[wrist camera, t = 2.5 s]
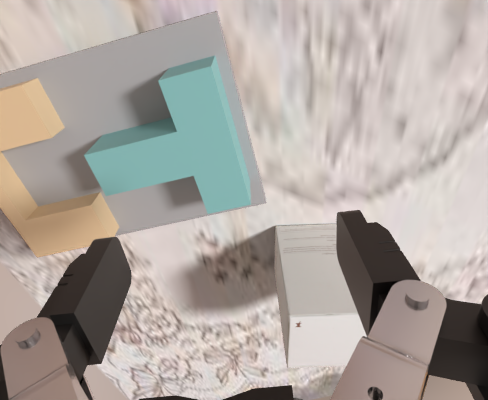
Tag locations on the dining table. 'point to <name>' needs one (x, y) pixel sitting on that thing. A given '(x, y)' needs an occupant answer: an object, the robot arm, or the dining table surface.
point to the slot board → (93, 127)
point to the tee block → (180, 143)
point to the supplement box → (314, 298)
